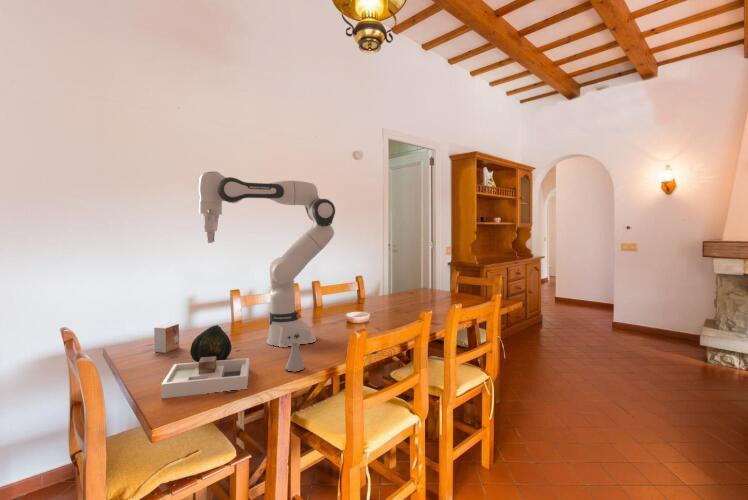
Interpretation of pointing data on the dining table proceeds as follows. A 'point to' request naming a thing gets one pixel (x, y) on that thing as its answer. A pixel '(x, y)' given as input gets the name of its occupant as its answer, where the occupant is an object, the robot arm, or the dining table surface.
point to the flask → (295, 358)
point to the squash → (211, 344)
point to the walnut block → (207, 365)
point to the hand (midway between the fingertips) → (211, 242)
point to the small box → (166, 337)
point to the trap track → (205, 378)
